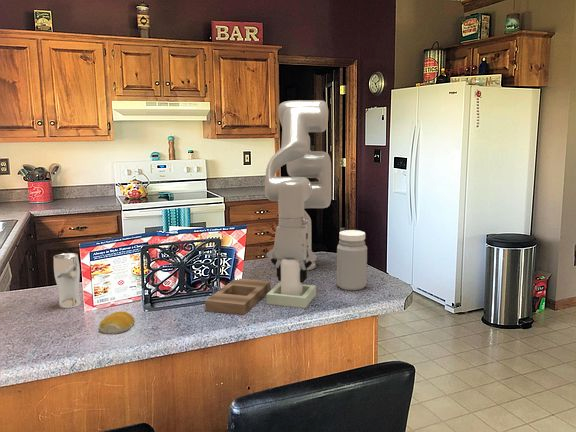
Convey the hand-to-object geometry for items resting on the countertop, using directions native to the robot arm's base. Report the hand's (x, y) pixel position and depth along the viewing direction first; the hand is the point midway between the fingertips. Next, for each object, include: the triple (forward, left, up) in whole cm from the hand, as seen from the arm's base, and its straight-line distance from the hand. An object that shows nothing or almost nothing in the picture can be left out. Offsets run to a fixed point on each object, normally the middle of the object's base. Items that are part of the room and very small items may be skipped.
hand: (291, 280), depth 155 cm
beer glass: (+23, -62, -6) cm, 66 cm away
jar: (-17, +15, -6) cm, 23 cm away
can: (0, 0, -5) cm, 5 cm away
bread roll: (+34, -38, -6) cm, 51 cm away
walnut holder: (+5, -15, -6) cm, 17 cm away
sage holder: (0, 0, -6) cm, 6 cm away
